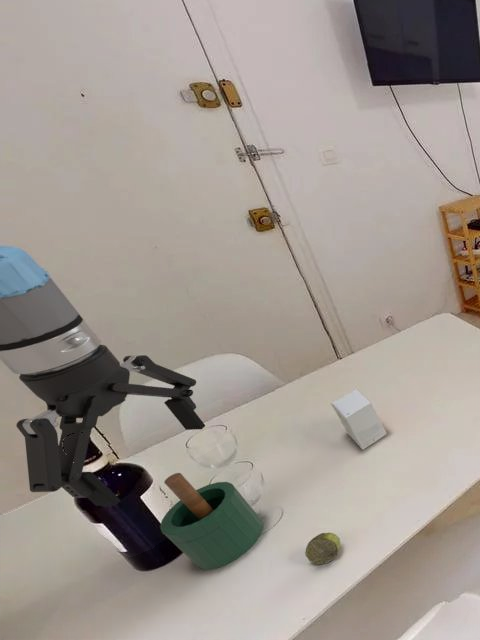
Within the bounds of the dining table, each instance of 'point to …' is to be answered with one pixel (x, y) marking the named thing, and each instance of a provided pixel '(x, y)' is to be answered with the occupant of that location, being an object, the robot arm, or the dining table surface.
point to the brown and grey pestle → (188, 495)
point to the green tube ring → (214, 527)
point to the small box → (359, 418)
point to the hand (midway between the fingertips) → (156, 462)
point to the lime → (323, 548)
